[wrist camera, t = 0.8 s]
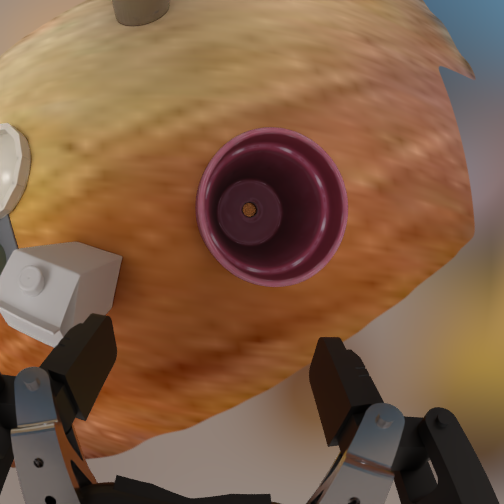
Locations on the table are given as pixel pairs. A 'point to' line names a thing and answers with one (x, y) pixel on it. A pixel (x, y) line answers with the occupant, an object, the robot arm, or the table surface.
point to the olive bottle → (2, 259)
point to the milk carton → (56, 288)
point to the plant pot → (272, 207)
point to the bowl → (12, 167)
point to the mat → (7, 237)
